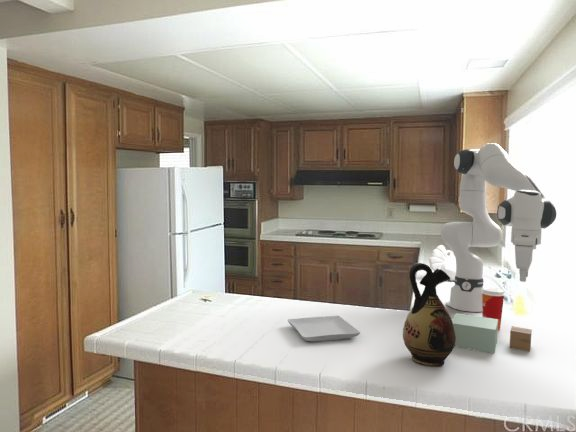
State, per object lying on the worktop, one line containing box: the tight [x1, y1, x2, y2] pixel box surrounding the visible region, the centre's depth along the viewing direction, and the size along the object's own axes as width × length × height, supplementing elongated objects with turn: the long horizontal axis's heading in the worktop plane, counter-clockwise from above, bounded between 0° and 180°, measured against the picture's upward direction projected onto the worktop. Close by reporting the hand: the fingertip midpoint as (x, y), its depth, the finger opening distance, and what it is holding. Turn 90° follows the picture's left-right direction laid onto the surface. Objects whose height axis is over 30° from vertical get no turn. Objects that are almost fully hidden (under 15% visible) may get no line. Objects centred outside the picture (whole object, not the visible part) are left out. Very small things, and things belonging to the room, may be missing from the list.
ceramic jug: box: [402, 262, 456, 367], centre depth 135 cm, size 17×15×30 cm
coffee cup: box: [481, 287, 506, 331], centre depth 170 cm, size 8×8×15 cm
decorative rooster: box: [428, 244, 456, 282], centre depth 265 cm, size 25×16×25 cm, turn 94°
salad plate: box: [287, 315, 361, 342], centre depth 160 cm, size 21×21×3 cm
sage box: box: [451, 312, 498, 354], centre depth 153 cm, size 14×14×8 cm
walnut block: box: [509, 325, 533, 352], centre depth 150 cm, size 6×6×6 cm
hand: (523, 279), depth 149 cm, fingers open, 8 cm apart
